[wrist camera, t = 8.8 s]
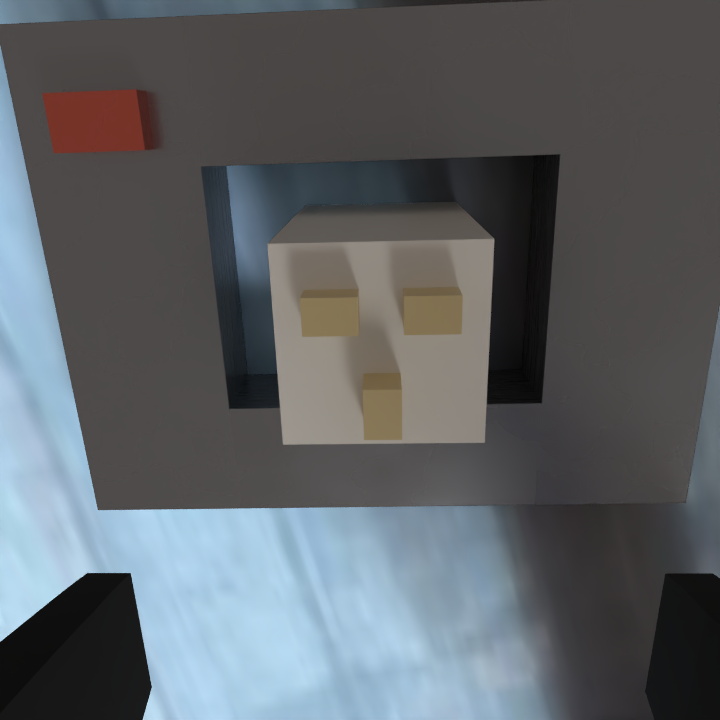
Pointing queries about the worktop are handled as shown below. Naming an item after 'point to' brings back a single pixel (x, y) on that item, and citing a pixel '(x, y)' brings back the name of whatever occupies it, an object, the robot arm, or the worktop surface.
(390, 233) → the plug
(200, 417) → the socket plate
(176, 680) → the worktop surface
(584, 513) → the worktop surface
